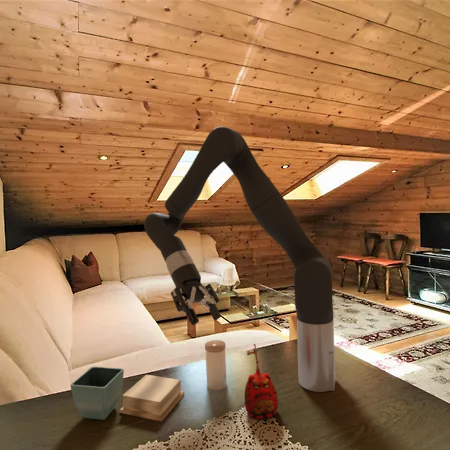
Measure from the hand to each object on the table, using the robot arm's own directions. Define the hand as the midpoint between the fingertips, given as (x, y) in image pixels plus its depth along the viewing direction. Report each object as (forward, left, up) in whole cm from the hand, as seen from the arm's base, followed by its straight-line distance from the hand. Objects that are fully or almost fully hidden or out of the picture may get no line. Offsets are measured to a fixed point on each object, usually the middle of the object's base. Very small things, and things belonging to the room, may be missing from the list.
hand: (207, 321), depth 89 cm
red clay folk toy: (-16, +8, -17) cm, 25 cm away
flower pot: (+20, +19, -17) cm, 33 cm away
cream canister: (-2, 0, -17) cm, 17 cm away
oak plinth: (+10, +12, -17) cm, 23 cm away
